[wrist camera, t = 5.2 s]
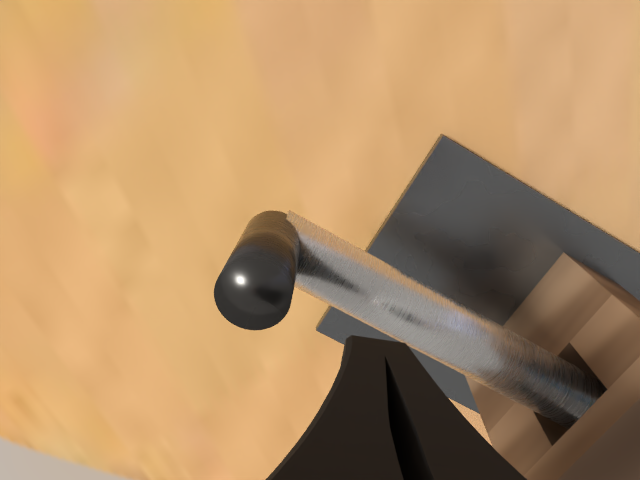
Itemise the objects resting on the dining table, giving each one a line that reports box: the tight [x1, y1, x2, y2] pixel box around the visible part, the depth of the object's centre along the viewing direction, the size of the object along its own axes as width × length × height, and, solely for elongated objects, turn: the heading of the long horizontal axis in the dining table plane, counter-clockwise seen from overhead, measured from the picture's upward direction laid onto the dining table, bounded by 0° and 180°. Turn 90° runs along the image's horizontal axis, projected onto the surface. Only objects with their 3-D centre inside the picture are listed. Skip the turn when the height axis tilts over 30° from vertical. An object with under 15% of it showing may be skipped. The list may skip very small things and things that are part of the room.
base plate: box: [316, 134, 640, 414], centre depth 21 cm, size 16×10×1 cm, turn 61°
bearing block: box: [465, 252, 640, 480], centre depth 18 cm, size 3×7×7 cm, turn 150°
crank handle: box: [214, 210, 608, 429], centre depth 14 cm, size 13×2×5 cm, turn 61°
